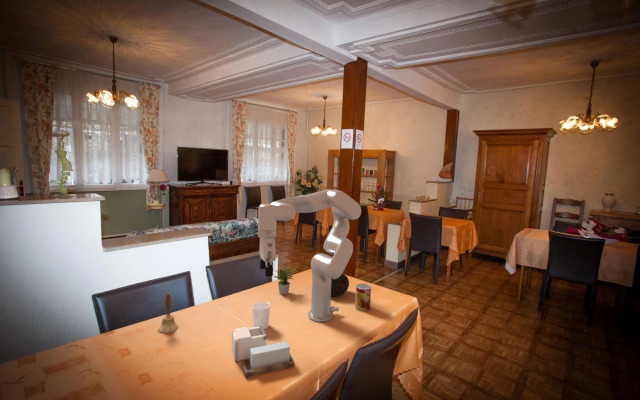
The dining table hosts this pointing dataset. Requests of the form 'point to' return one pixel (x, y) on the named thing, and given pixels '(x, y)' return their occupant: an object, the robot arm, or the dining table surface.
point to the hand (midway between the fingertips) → (266, 272)
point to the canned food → (363, 297)
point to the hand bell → (168, 318)
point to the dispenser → (247, 341)
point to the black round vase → (339, 285)
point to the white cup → (261, 314)
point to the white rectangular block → (269, 355)
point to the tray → (249, 372)
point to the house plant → (284, 280)
